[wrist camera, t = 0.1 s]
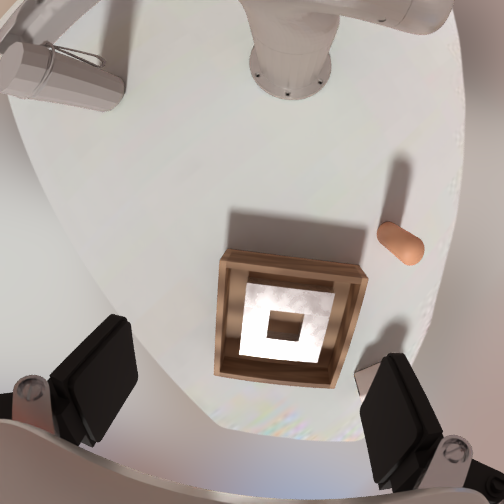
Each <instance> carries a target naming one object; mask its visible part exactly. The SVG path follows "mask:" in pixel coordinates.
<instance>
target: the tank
mask: <svg viewBox="0 0 504 504" xmlns="http://www.w3.org/2000/svg"><path fill="white" fill-rule="evenodd" d="M99 1H101V0H24V1H23V3H22V4H21V5H20V6H19V7H18V8H17V9H16V11H15V12H14V13H13V14H12V15H11V17H10V18H9V19H8V20H7V22H6V23H5V24H4V25H3V27H2V28H1V29H0V55H3V54H4V53H5V51H6V50H7V49H8V47H9V46H11V45H12V44H14V43H15V42H23V43H30V44H35V45H39V44H42V43H43V41H47V40H48V41H49V42H50V43H52V44H54V43H55V42H56V41H57V40H58V39H59V38H60V37H61V36H62V35H63V34H64V33H65V32H66V31H67V30H68V29H69V28H70V27H71V26H72V25H73V24H74V23H75V22H76V21H77V20H78V19H80V18H81V17H82V16H83V15H84V14H85V13H86V12H87V11H89V10H90V9H91V8H92V7H93V6H95V5H96V4H97V3H98V2H99ZM44 47H45V46H44ZM47 48H48V47H47ZM48 49H49V48H48Z"/></svg>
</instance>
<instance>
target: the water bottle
mask: <svg viewBox="0 0 504 504" xmlns="http://www.w3.org/2000/svg"><path fill="white" fill-rule="evenodd" d="M44 46H45V47H44ZM47 47H48V48H50V47H51V48H52V50H49V49H48V48H47ZM59 48H61V49H66V50H70V51H75V52H79V53H83V54H87V55H91V56H95V57H97V58H98V59H100V60H101V61H102V66H98V65H95V64H93V63H91V62H89V61H87V60H85V59H82V58H80V57H78V56H76V55H73V54H71V53H69V52H66V51H64V50H61V49H59ZM55 49H56V50H59V51H61V52H63V53H66V54H68V55H70V56H72V57H75V58H77V59H79V60H81V61H83V62H81V61H79V60H76V59H74V58H71V57H68V56H66V55H63V54H60V53H57V52H55ZM84 62H85V63H84ZM86 63H88V64H86ZM89 64H90V65H89ZM105 64H106V61H105V60H104V59H103V58H101V57H100V56H98V55H94V54H90V53H86V52H82V51H78V50H73V49H69V48H64V47H59V46H54V45H53V44H52V43H50V42H49V41H48V40H47V41H43V43H42V44H39V45H35V44H30V43H23V42H15V43H14V44H12V45H11V46H9V47H8V49H7V50H6V51H5V53H4V54H3V55H2V57H1V59H0V93H4V94H8V95H12V96H16V97H18V98H21V99H26V98H28V99H32V100H39V101H46V102H53V103H59V104H65V105H70V106H76V107H81V108H86V109H91V110H96V111H101V112H105V111H110V110H112V109H113V108H114V107H116V106H117V105H118V104H119V103H120V101H121V99H122V97H123V95H124V83H123V81H122V79H121V78H119V77H117V76H115V75H113V74H110V73H108V72H106V71H103V70H101V69H99V68H100V67H104V66H105ZM91 65H92V66H91ZM96 67H97V68H96Z"/></svg>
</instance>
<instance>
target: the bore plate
mask: <svg viewBox="0 0 504 504" xmlns="http://www.w3.org/2000/svg"><path fill="white" fill-rule="evenodd" d="M334 296H335V292H334V289H333V287H327V286H318V285H310V284H301V283H293V282H285V281H277V280H269V279H261V278H253V277H248V280H247V285H246V294H245V304H244V314H243V324H242V334H241V344H240V354H243V355H250V356H257V357H265V358H273V359H282V360H292V361H302V362H314V363H317V362H318V358H319V355H320V351H321V347H322V344H323V340H324V336H325V333H326V329H327V325H328V321H329V317H330V313H331V309H332V305H333V300H334ZM270 310H274V311H283V312H291V313H300V314H302V318H301V323H300V327H299V332H298V334H292V333H283V332H274V331H267V328H268V322H269V315H270Z"/></svg>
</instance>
